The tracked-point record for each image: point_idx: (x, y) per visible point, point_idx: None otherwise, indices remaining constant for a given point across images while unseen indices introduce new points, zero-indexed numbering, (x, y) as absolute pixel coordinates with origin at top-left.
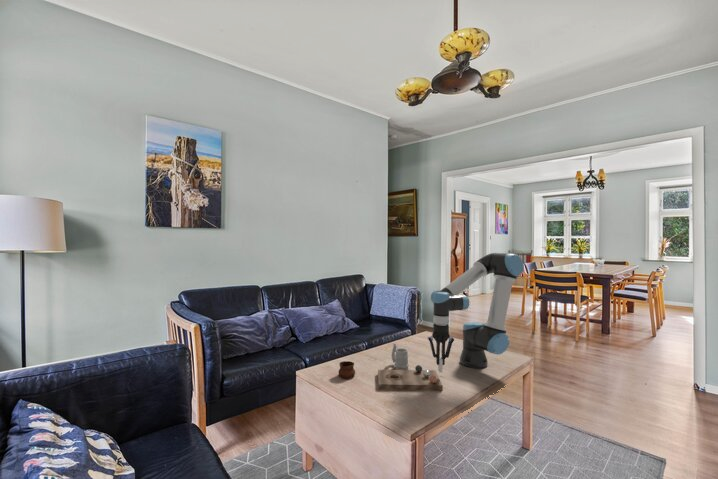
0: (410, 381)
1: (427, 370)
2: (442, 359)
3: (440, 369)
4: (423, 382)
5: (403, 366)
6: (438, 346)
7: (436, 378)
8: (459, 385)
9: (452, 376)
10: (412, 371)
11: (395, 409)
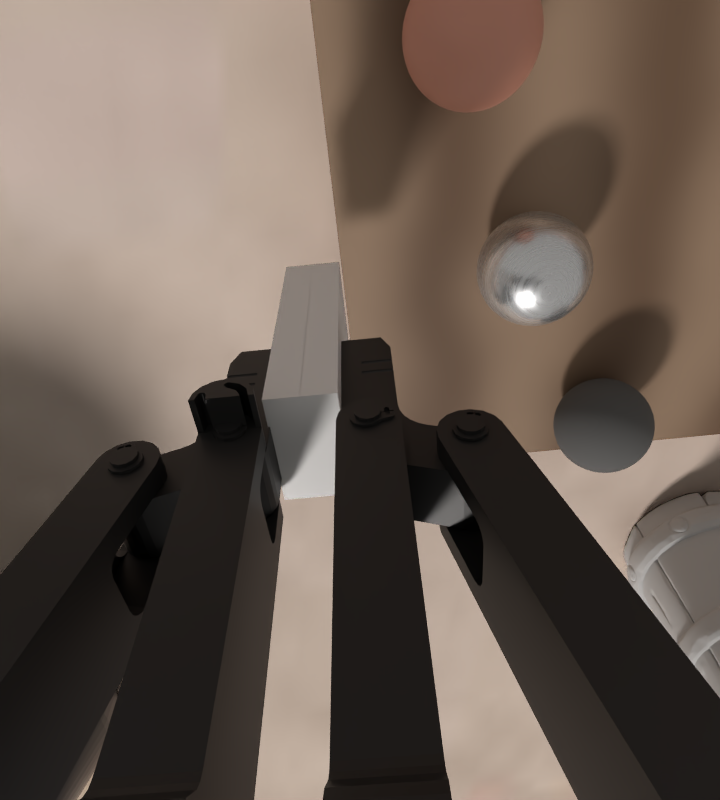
0: None
1: (537, 290)
2: (266, 394)
3: (319, 284)
4: (622, 27)
5: (714, 522)
6: (388, 706)
7: (415, 14)
8: (64, 189)
9: (171, 430)
10: (664, 404)
11: None
